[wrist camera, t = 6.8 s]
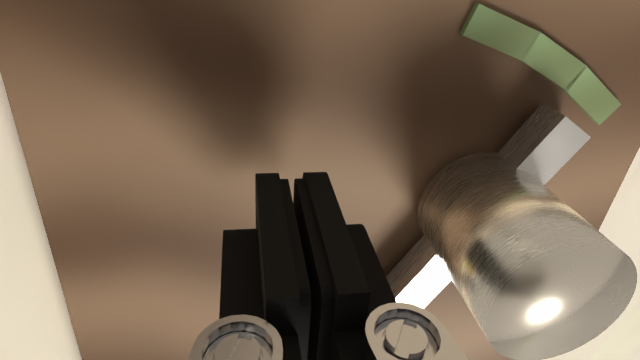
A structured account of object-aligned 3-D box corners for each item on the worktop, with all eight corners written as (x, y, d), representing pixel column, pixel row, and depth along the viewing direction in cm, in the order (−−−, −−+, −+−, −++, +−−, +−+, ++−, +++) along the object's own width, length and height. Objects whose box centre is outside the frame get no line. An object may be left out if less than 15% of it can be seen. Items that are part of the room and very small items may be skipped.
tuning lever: (516, 81, 12) (646, 153, 8) (590, 141, 13) (730, 227, 9) (252, 388, 16) (256, 524, 13) (328, 408, 18) (353, 535, 14)
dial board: (-21, -113, 9) (-60, -118, 8) (690, -42, 12) (738, -38, 11) (115, 422, 18) (107, 456, 17) (499, 382, 22) (514, 408, 21)
